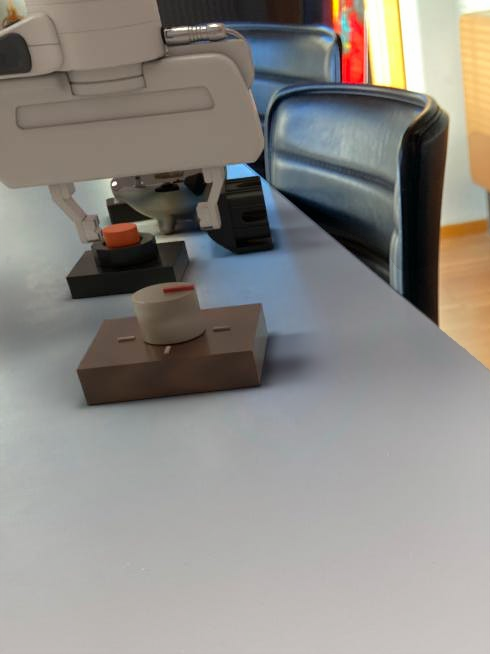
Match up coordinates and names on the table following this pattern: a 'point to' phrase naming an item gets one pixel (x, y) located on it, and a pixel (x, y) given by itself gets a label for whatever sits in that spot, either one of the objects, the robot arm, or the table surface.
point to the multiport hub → (122, 212)
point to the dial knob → (168, 313)
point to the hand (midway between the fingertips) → (152, 234)
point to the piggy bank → (164, 195)
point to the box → (127, 267)
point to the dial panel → (175, 358)
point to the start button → (121, 234)
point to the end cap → (241, 216)
